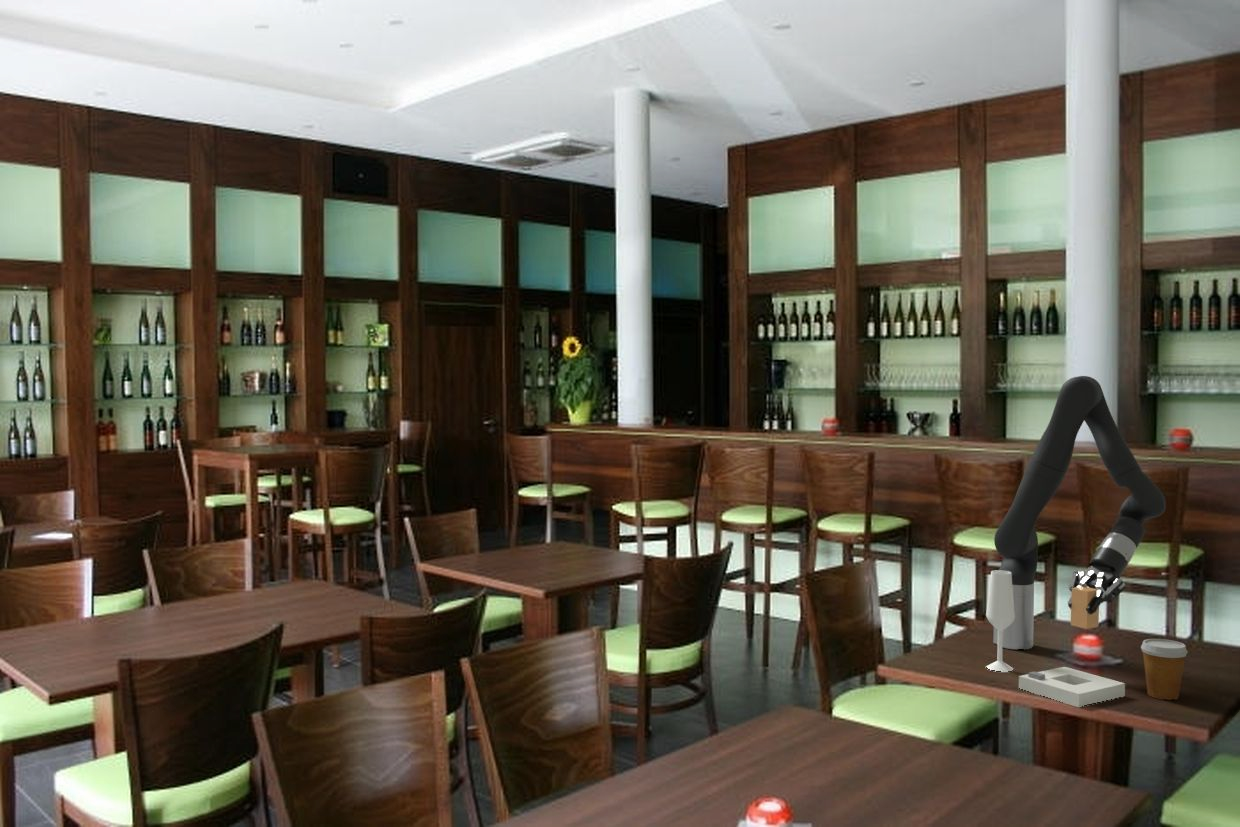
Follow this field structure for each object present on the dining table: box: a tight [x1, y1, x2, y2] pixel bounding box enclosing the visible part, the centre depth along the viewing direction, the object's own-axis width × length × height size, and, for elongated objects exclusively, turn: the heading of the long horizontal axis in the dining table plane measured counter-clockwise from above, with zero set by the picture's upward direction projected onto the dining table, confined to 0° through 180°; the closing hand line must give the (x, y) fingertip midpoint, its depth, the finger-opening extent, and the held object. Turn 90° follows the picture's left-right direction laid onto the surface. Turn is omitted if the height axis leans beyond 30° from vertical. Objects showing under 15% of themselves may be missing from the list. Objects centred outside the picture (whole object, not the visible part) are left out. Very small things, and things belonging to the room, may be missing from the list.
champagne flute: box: [985, 569, 1015, 673], centre depth 267 cm, size 7×7×24 cm
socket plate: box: [1018, 666, 1126, 708], centre depth 248 cm, size 16×16×4 cm
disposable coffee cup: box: [1140, 638, 1189, 701], centre depth 245 cm, size 10×10×12 cm
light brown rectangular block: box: [1070, 586, 1100, 630], centre depth 260 cm, size 4×4×9 cm
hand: (1079, 609), depth 259 cm, fingers closed on light brown rectangular block, 4 cm apart
